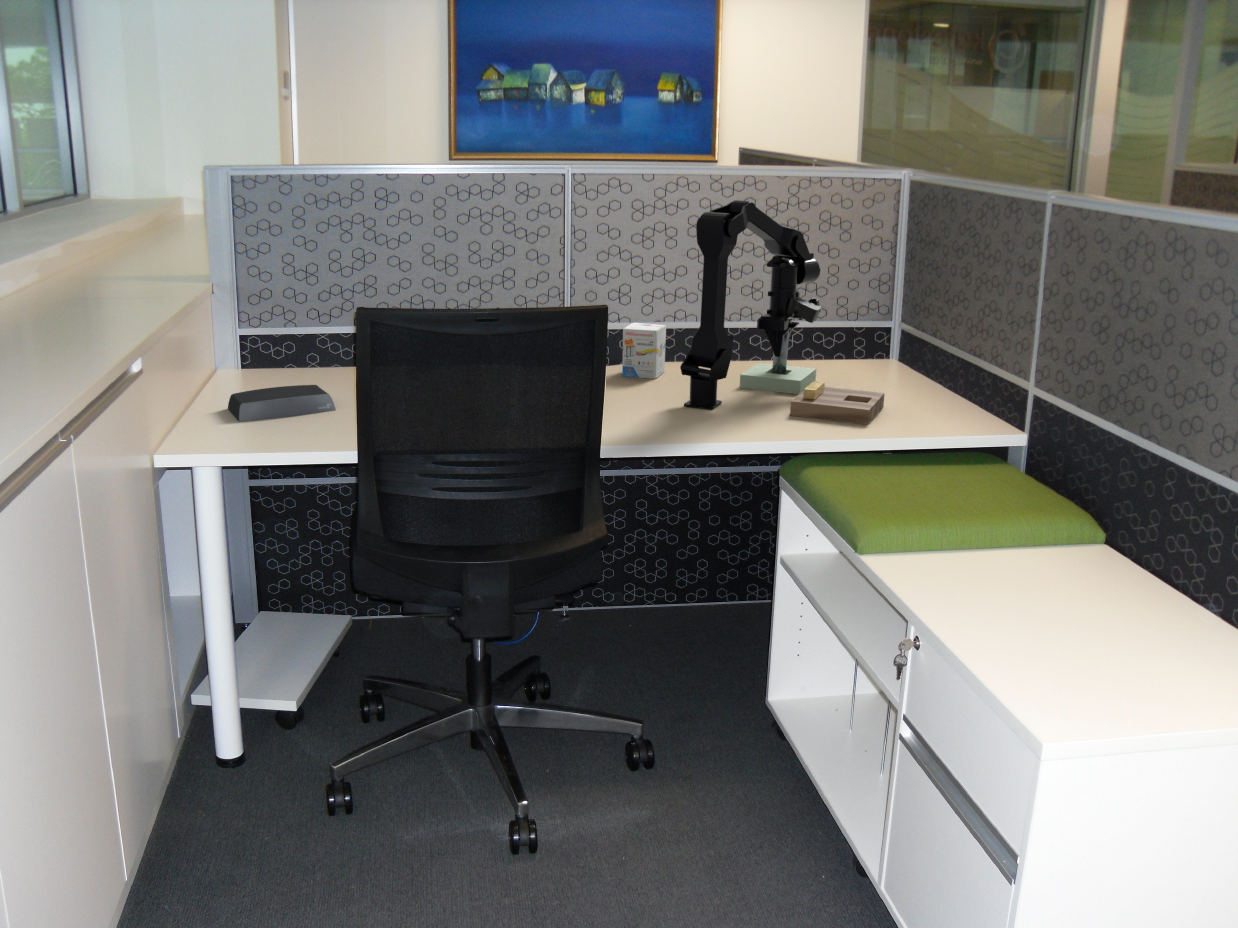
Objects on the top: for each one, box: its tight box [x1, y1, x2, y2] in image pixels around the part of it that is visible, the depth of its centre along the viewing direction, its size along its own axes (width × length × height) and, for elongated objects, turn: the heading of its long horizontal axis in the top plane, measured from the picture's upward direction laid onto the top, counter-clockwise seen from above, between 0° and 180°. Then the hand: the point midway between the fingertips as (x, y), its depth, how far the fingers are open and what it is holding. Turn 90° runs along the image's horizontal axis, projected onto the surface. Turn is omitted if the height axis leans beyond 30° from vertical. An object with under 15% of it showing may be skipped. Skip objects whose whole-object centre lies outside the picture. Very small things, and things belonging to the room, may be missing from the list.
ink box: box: [621, 322, 667, 380], centre depth 252 cm, size 9×8×12 cm
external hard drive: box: [227, 384, 337, 423], centre depth 218 cm, size 13×19×4 cm
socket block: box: [789, 386, 886, 425], centre depth 221 cm, size 16×16×3 cm
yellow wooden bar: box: [803, 380, 826, 400], centre depth 222 cm, size 8×2×2 cm, turn 156°
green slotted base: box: [739, 362, 817, 395], centre depth 244 cm, size 14×14×3 cm
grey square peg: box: [772, 331, 790, 375], centre depth 242 cm, size 3×3×10 cm
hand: (779, 355), depth 242 cm, fingers closed on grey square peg, 3 cm apart
